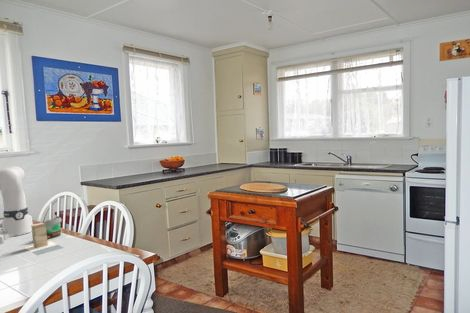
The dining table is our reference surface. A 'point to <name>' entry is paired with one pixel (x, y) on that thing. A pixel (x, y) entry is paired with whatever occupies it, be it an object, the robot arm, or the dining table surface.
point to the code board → (45, 250)
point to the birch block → (39, 235)
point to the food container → (53, 227)
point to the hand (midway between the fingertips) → (10, 233)
